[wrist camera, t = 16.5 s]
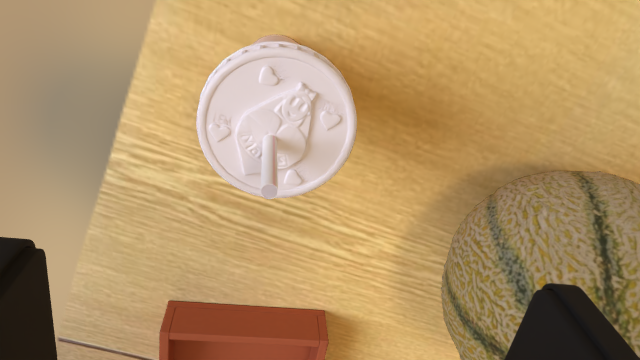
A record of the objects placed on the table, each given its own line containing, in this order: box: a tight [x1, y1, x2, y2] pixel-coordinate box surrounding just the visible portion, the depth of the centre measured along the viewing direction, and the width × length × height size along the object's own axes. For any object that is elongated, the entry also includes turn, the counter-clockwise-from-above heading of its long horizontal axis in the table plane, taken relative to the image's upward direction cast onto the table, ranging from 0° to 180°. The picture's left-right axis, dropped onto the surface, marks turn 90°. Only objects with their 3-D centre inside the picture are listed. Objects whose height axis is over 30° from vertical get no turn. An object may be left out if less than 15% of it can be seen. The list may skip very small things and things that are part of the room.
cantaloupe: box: [441, 171, 640, 360], centre depth 28 cm, size 15×15×15 cm
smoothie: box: [197, 35, 357, 199], centre depth 21 cm, size 6×6×14 cm
